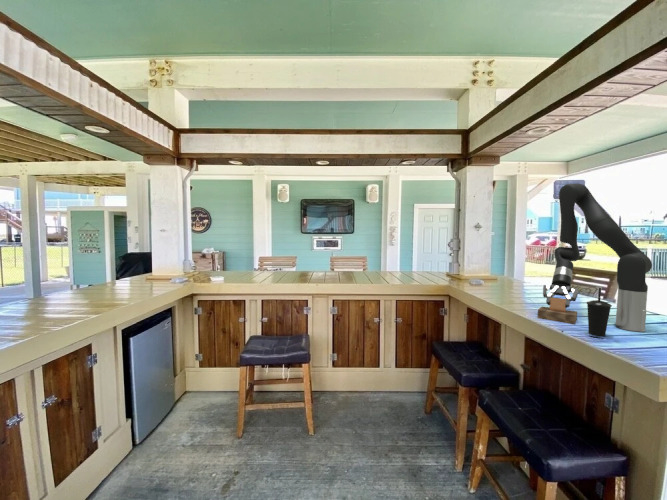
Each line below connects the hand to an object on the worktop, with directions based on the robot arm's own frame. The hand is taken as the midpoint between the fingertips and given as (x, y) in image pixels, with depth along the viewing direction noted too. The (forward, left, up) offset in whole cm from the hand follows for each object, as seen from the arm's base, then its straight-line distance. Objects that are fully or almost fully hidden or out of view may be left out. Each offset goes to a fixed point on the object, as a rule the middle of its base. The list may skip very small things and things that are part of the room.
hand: (557, 305), depth 143 cm
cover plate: (0, -2, -7) cm, 7 cm away
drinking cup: (-15, +14, -8) cm, 22 cm away
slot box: (0, -2, -8) cm, 8 cm away
